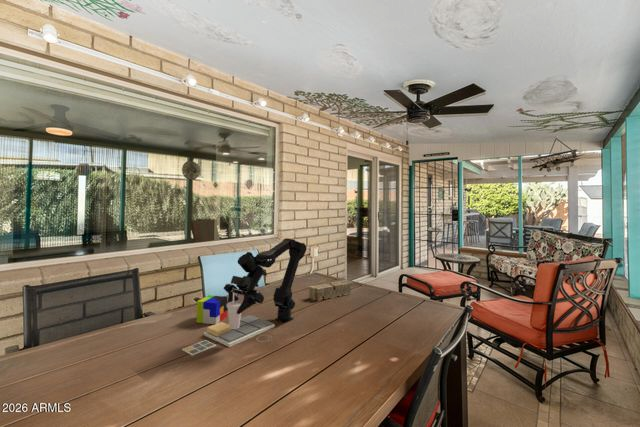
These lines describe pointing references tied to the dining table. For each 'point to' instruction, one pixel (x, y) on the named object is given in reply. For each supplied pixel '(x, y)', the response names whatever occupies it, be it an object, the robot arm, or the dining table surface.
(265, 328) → the button board
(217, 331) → the amber button
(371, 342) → the dining table surface
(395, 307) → the dining table surface
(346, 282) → the tan stone block
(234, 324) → the smoothie
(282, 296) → the robot arm
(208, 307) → the puzzle toy
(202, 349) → the pattern card
